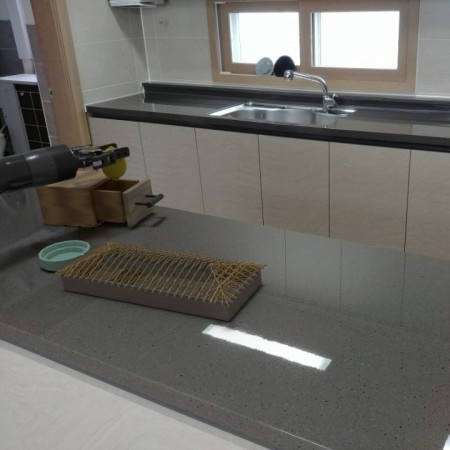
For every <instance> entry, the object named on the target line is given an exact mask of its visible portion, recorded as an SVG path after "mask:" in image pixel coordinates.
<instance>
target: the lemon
mask: <svg viewBox="0 0 450 450" xmlns="http://www.w3.org/2000/svg"><path fill="white" fill-rule="evenodd" d="M117 148H118V147H117ZM117 148H113V147H112V146H110V147H109V148H108V149H106V150H110V149H117ZM107 159H109V156H108V158H107ZM116 162H117V163H116V164H113V165H110V166H107V167H104V168H101V172H103V173H104V174H105V175H106V176H107V177H109V178H112V179H114V180H115V181H117V180H118V179H121V178H122V177H123V176H124V175H125V174H126V172H127V167H128V165H127V158H126V157H125V158H121V159H117V160H116Z"/></svg>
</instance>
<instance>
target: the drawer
mask: <svg viewBox="0 0 450 450" xmlns="http://www.w3.org/2000/svg"><path fill="white" fill-rule="evenodd" d="M151 181H152V180H151V178H148V177H146V178H144V179H142V180H140V179H132V178H119V179H118V180H117V181H115V180H114V179H112V178H111V179H110V180H108V181H106V182H104V183H103V184H101V185H99V186H97V187H95V188H94V189H92V190H90V191H91V196H92V201H93V206H94V211H95V216H96V221H105V222H106V223H120V224H124V223H126V222H127V226H128V227H133V226H134V225H136V224H137V223H139V222H140V221H141V220H143V219H144V218H145V217H146V216H148V215H149V214H150V213H152V212H153V211H154V210H155V209H156V208H155V205H156V204H158V203H159V202H160V201H162V200H163V199H164V198H165V195H164V194H163V193H162V192H159V193H158V194H153V187H152V182H151ZM105 222H104V223H105Z"/></svg>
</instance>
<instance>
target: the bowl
mask: <svg viewBox="0 0 450 450" xmlns="http://www.w3.org/2000/svg"><path fill="white" fill-rule="evenodd" d="M89 252H92V247H91V245H90V244H89V242H87V241H84V240H80V239H79V240H78V239H74V240H72V239H71V240H63V241H60V242H55V243H52V244H51V245H48V246H46V247H44V248H42V250H40V252H39V253H38V259H39V260H38V261H39V264H40V267H41V268H42V269H43V270H45V271H49V272H57V271H59V270H61V269H64V268H63V267H66V266H70V263H73V262H77V261H81V260H77V259H81V256H85V255H88V254H87V253H89ZM89 254H92V253H89ZM88 256H90V255H88ZM88 256H85V257H88ZM75 260H77V261H75ZM77 263H78V262H77ZM74 264H75V263H73V265H74ZM66 268H67V267H66ZM63 271H64V270H63Z"/></svg>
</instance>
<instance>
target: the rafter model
mask: <svg viewBox="0 0 450 450" xmlns="http://www.w3.org/2000/svg"><path fill="white" fill-rule="evenodd" d="M89 253H92V254H89ZM89 253H87V254H88V255H90V256H88V255H85V256H88V257H85V256H81V259H77V260H81V261H77V260H75V261H77V262H78V263H77V262H73V263H75V264H74V265H73V263H70V266H66V267H67V268H66V267H63V268H64V269H61V270H59V271H55V272H54V273H52V276H56V275H57V277H59V276H60V278H61V281H62V287H63V291H69V292H74V293H80V294H84V295H90V296H94V297H100V298H104V299H111V300H116V301H121V302H126V303H132V304H137V305H141V306H146V307H152V308H157V309H162V310H167V311H173V312H178V313H184V314H189V315H194V316H198V317H205V318H209V319H213V320H214V319H215V320H219V321H226V322H230V321H231V320H232V318H233V317H234V316H235V315H236V314H237V313H238V311H239V310H240V309H241V308H242V307H243V305H245V303H247V301H248V300H249V299H250V297H252V295H253V294H254V293H255V292H256V291H257V290H258V289H259V288H260V286H261V285H262V284H263V281H262V280H263V279H262V270H264V269H265V267H267V266H268V264H262V263H255V262H251V261H248V262H245V261H244V260H242V261H238V260H237V259H236V260H232V259H231V258H229V259H225V258H224V257H222V258H218V257H212V255H210V256H205V254H203V255H199V254H198V253H197V254H193V253H186V252H180V251H174V250H168V249H163V250H162V248H157V249H156V248H155V247H151V248H150V247H149V246H147V247H144V246H143V245H142V246H138V245H132V244H127V243H122V242H113V241H109V242H108V241H106V242H104V243H102V245H101V244H100V245H99V246H97V248H93V249H91V252H89ZM100 266H101V267H100ZM107 267H108V268H107ZM104 269H105V271H103V270H104ZM113 269H114V270H113ZM63 270H64V271H63ZM109 271H111V272H109ZM88 274H89V275H88ZM146 274H148V275H146ZM152 275H155V276H152ZM159 276H161V277H160V278H159ZM141 277H142V278H141ZM149 277H150V279H148V278H149ZM166 277H168V278H167V279H166ZM156 278H157V280H155V279H156ZM163 278H164V281H162V279H163ZM173 278H175V279H174V280H173ZM180 279H181V281H180ZM223 279H224V280H223ZM170 280H171V282H169V281H170ZM187 280H188V281H189V282H187ZM210 280H211V282H209V281H210ZM222 280H223V281H222ZM161 281H162V282H161ZM184 281H185V282H184ZM168 282H169V283H168ZM176 282H178V283H177V284H176ZM194 282H196V283H194ZM183 283H185V284H184V285H183ZM202 283H203V284H202ZM231 283H232V284H231ZM191 284H192V285H191ZM201 284H202V285H201ZM207 284H210V286H208V285H207ZM190 285H191V286H190ZM198 285H199V287H197V286H198ZM145 286H146V287H145ZM154 286H155V287H154ZM189 286H190V287H189ZM205 286H206V288H205ZM213 286H214V288H213ZM152 287H154V288H152ZM161 287H162V288H161ZM169 287H170V288H169ZM160 288H161V289H160ZM168 288H169V289H168ZM204 288H205V289H204ZM212 288H213V289H212ZM167 289H168V290H167ZM175 289H177V290H176V291H175ZM183 290H184V291H183ZM191 290H192V291H191ZM174 291H175V292H174ZM182 291H183V292H182ZM190 291H191V293H190V294H188V293H189V292H190ZM180 292H182V293H180ZM197 293H198V294H197ZM205 293H206V294H205ZM196 294H197V296H196ZM204 294H205V296H204V297H202V296H203V295H204ZM212 294H213V295H212ZM211 295H212V297H211V298H209V297H210V296H211ZM220 299H221V300H220Z"/></svg>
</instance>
